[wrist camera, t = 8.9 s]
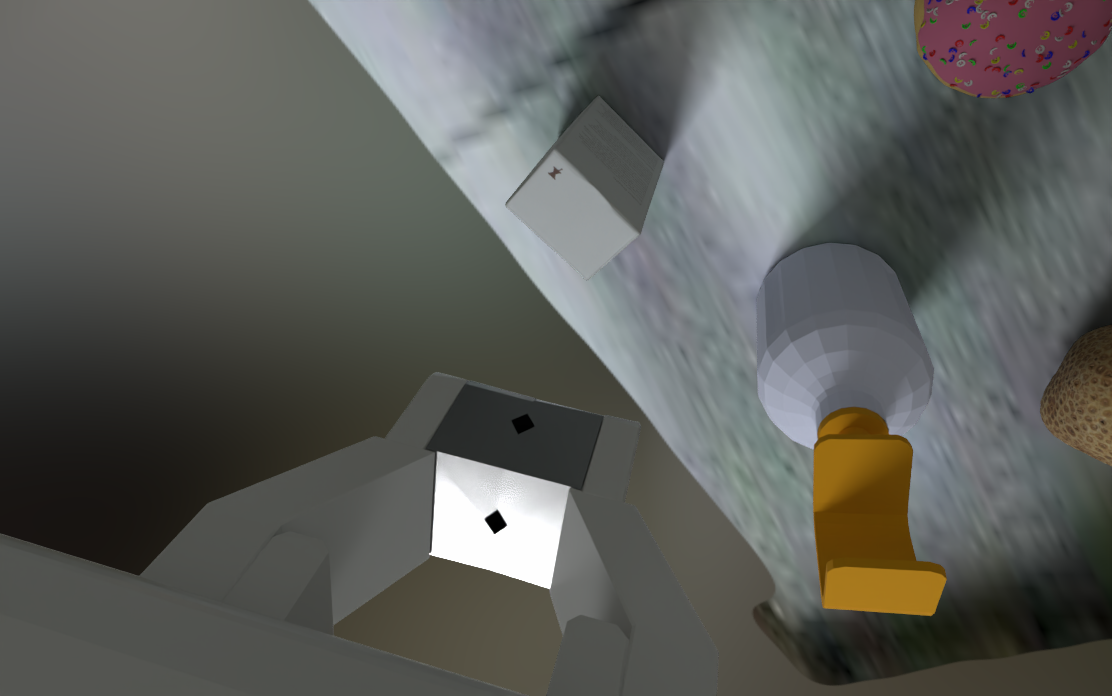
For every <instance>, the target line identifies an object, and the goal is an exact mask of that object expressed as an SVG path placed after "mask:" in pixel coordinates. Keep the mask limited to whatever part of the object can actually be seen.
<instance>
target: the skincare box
mask: <svg viewBox="0 0 1112 696" xmlns="http://www.w3.org/2000/svg"><path fill="white" fill-rule="evenodd" d="M663 164H664V161H663V160H662V159H661V158H660V157H659V156H658V155H657V154H656V153H655V152H654V151H653V150H652V149H651V148H650V147H649V146H648V145H647V144H646V143H645V142H644V141H643V140H642V139H641V138H640V137H639V136H638V135H637V134H636V133H635V132H634V131H633V130H632V129H631V128H630V127H629V126H628V125H627V124H626V123H625V121H624V120H623V119H622V118H621V117H620V116H619V115H618V114H617V113H616V112H615V111H614V110H613V109H612V108H611V107H610V106H609V105H608V104H607V103H606V102H605V101H604V100H603V99H602V98H601V97H600V96H597V97H596V98H595V99H594V100H593V101H592V102H591V103H590V104H589V105H588V106H587V107H586V108H585V109H584V111H583V112H582V113H581V114H580V115H579V116H578V117H577V118H576V119H575V120H574V121H573V123H572V124H571V125H570V126H569V127H568V128H567V129H566V130H565V132H564V133H563V134H562V135H561V136H560V137H559V139H558V140H557V141H556V142H555V143H554V144H553V146H552V147H551V148H550V149H549V150H548V152H547V153H546V154H545V155H544V157H543V158H542V159H541V160H540V161H539V163H538V164H537V165H536V166H535V168H534V169H533V170H532V171H531V172H530V174H529V175H528V176H527V177H526V179H525V180H524V181H523V182H522V183H521V185H520V186H519V187H518V188H517V190H516V191H515V192H514V193H513V194H512V196H511V197H510V198H509V199H508V201H507V202H506V204H505V205H506V208H508V209H509V210H510V211H511V212H512V213H513V214H514V215H515V216H516V217H517V218H518V219H520V220H521V221H522V222H523V223H524V224H525V225H526V226H527V227H528V228H529V229H530V230H531V231H533V232H534V233H535V234H536V235H537V236H538V237H539V238H540V239H541V240H542V241H544V242H545V243H546V244H547V245H548V246H549V247H550V248H551V249H552V250H554V251H555V252H556V253H557V254H558V255H559V256H560V257H561V258H562V259H563V260H564V261H566V262H567V263H568V264H569V265H570V266H571V267H572V268H573V269H574V270H575V271H576V272H577V273H579V274H580V275H581V276H582V277H583V278H584V279H585V280H586V281H587V280H589V279H590V278H591V277H592V276H594V275H595V274H596V273H597V272H598V271H599V270H601V269H602V268H603V267H604V266H605V265H606V264H607V263H609V262H610V261H611V260H612V259H613V258H614V257H615V256H617V255H618V254H619V253H620V252H621V251H622V250H623V249H625V248H626V247H627V246H628V245H629V244H630V243H631V242H632V241H634V240H635V239H636V238H637V237H638V236H639V235H640V234H641V231H642V228H643V224H644V221H645V218H646V215H647V212H648V209H649V206H650V203H651V200H652V197H653V194H654V191H655V188H656V185H657V182H658V179H659V176H660V173H661V171H662V168H663Z"/></svg>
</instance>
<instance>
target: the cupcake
mask: <svg viewBox="0 0 1112 696" xmlns="http://www.w3.org/2000/svg"><path fill="white" fill-rule="evenodd" d="M914 24H915V32H916V39H917V51H918V53H919V55H920V57H921V58H922V60H923V61H924V62H925V64H926V65H927V66H928V68H929V69H930V70H931V72H932V73H933V74H934V75H935V76H936V77H937V78H938V79H939V80H940V81H941V82H942V83H943V84H944V85H946V86H948V87H950V88H952V89H955V90H957V91H960V92H963V93H965V94H968V95H971V96H974V97H980V98H1007V97H1013V96H1018V95H1021V94H1025V93H1032V92H1034V90H1035V89H1037V88H1040V87H1042V86H1045V85H1048V84H1050V83H1052V82H1054V81H1056V80H1058V79H1060V78H1061V77H1063V76H1065V75H1066V74H1068V73H1069V72H1070V71H1072V70H1073V69H1074V68H1076V67H1077V66H1078V65H1079V64H1081V63H1082V62H1083V61H1084V60H1085V59H1087V58H1088V57H1089V56H1090V55H1092V54H1093V53H1094V52H1095V51H1096V50H1097V49H1099V48H1100V47H1101V45H1102V44H1103V43H1104V42H1105V40H1106V38H1107V37H1108V35H1109V33H1110V31H1111V29H1112V0H915V5H914Z"/></svg>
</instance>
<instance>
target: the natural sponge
mask: <svg viewBox="0 0 1112 696" xmlns="http://www.w3.org/2000/svg"><path fill="white" fill-rule="evenodd" d="M1040 413H1041V417H1042V420H1043V422H1044V424H1045V425H1046V427H1047V428H1048V429H1049V431H1050V432H1051V433H1052V434H1053V435H1054V436H1056V437H1057V438H1059V439H1060V440H1062V441H1063V442H1064V443H1066V444H1068V445H1070V446H1071V447H1073V448H1075V449H1077V450H1080V451H1082V452H1084V453H1086V454H1088V455H1089V456H1091V457H1093V458H1095V459H1097V460H1099V461H1102V462H1104V463H1106V464H1108V465H1111V466H1112V325H1108V326H1104V327H1100V328H1098V329H1095V330H1093V331H1090V332H1088V333H1086V334H1085V335H1083V336H1082V337H1080V338H1079V339H1078V340H1077V341H1076V342H1075V343H1074V344H1073V346H1072V347H1071V349H1070V350H1069V352H1068V353H1067V354H1066V356H1065V358H1064V360H1063V362H1062V363H1061V365H1060V367H1059V369H1058V371H1057V372H1056V374H1055V375H1054V376H1053V377H1052V379H1051V381H1050V383H1049V384H1048V386H1047V388H1046V389H1045V391H1044V394H1043V397H1042V400H1041V408H1040Z"/></svg>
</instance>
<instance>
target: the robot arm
mask: <svg viewBox="0 0 1112 696" xmlns="http://www.w3.org/2000/svg"><path fill="white" fill-rule="evenodd" d="M640 430H641V426H640V423H639V422H635V421H630V420H626V419H621V418H617V417H612V416H608V415H605V417H604V416H602V415H598V414H594V413H590V412H586V411H582V410H578V409H574V408H569V407H566V406H561V405H557V404H554V403H550V402H545V401H541V400H537V399H536V398H532V397H528V396H525V395H521V394H517V393H514V392H510V391H507V390H503V389H499V388H496V387H492V386H488V385H485V384H481V383H477V382H474V381H468V380H466V379H462V378H458V377H454V376H450V375H446V374H442V373H438V372H436V373H434V374H432V375H430V376H429V377H428V378H427V380H426V381H425V383H424V384H423V386H422V387H421V388H420V390H419V391H418V393H417V394H416V395H415V397H414V398H413V400H412V401H411V402H410V404H409V405H408V407H407V408H406V409H405V411H404V412H403V414H402V415H401V416H400V418H399V419H398V421H397V422H396V424H395V425H394V426H393V428H392V429H391V430H390V432H389V433H388V435H387V436H386V438H385V439H383V438H379V437H375V436H374V437H372V438H369V439H367V440H364V441H362V442H359V443H357V444H354V445H352V446H350V447H347V448H344V449H342V450H339V451H337V452H334V453H332V454H329V455H327V456H325V457H322V458H319V459H317V460H314V461H312V462H310V463H307V464H305V465H302V466H300V467H297V468H295V469H292V470H290V471H287V472H285V473H282V474H280V475H277V476H275V477H273V478H270V479H267V480H265V481H262V482H260V483H258V484H255V485H252V486H250V487H247V488H245V489H242V490H240V491H238V492H235V493H232V494H230V495H228V496H225V497H223V498H220V499H218V500H215V501H213V502H210V503H208V504H207V505H206V506H205V507H204V508H203V509H202V510H201V511H200V512H199V513H198V514H197V515H196V516H195V517H194V519H193V520H192V521H191V522H190V523H189V524H188V525H187V526H186V527H185V528H184V529H183V530H182V531H181V532H180V533H179V534H178V535H177V537H176V538H175V539H174V540H173V541H172V542H171V543H170V544H169V545H168V546H167V547H166V548H165V549H164V550H163V552H162V553H161V554H160V555H159V556H158V557H157V558H156V559H155V560H154V561H153V562H152V563H151V564H150V565H149V566H148V568H146V570H145V571H144V572H143V573H142V574H141V575H140V576H136V575H133V574H130V573H127V572H123V571H120V570H117V569H114V568H110V567H107V566H104V565H101V564H97V563H94V562H90V561H87V560H84V559H81V558H78V557H74V556H71V555H68V554H65V553H61V552H58V551H54V550H51V549H48V548H45V547H41V546H38V545H35V544H32V543H29V542H25V541H22V540H19V539H16V538H12V537H9V536H6V535H3V534H0V696H528V695H525V694H522V693H518V692H515V691H512V690H508V689H505V688H502V687H499V686H495V685H492V684H489V683H486V682H483V681H479V680H476V679H472V678H469V677H466V676H463V675H460V674H456V673H453V672H450V671H447V670H443V669H440V668H437V667H433V666H430V665H427V664H424V663H420V662H417V661H414V660H410V659H407V658H404V657H401V656H397V655H394V654H391V653H388V652H385V651H381V650H378V649H375V648H372V647H368V646H365V645H362V644H359V643H355V642H352V641H349V640H345V639H342V638H339V637H336V636H334V633H333V625H334V624H336V623H337V622H339V621H340V620H342V619H343V618H344V617H346V616H347V615H349V614H350V613H352V612H353V611H354V610H356V609H357V608H359V607H360V606H362V605H363V604H364V603H366V602H367V601H369V600H370V599H371V598H373V597H374V596H376V595H377V594H379V593H380V592H382V591H383V590H384V589H386V588H387V587H389V586H390V585H392V584H393V583H394V582H396V581H397V580H399V579H400V578H401V577H403V576H404V575H406V574H407V573H408V572H410V571H411V570H413V569H414V568H416V567H417V566H419V565H420V564H421V563H423V562H424V561H425V560H427V559H429V554H430V555H434V556H438V557H442V558H446V559H450V560H454V561H458V562H462V563H465V564H469V565H473V566H477V567H481V568H485V569H489V570H492V571H495V572H498V573H502V574H505V575H508V576H511V577H514V578H517V579H521V580H524V581H527V582H530V583H533V584H537V585H540V586H543V587H546V588H549V589H550V595H551V598H552V602H553V605H554V608H555V612H556V615H557V618H558V621H559V625H560V628H561V632H562V635H563V639H562V642H561V645H560V650H559V653H558V656H557V660H556V664H555V667H554V671H553V674H552V678H551V681H550V684H549V688H548V692H547V695H546V696H717V677H718V656H719V652H718V650H717V648H716V647H715V645H714V643H713V641H712V640H711V638H710V636H709V634H708V632H707V631H706V629H705V627H704V625H703V624H702V622H701V620H700V618H699V617H698V615H697V613H696V611H695V610H694V608H693V606H692V604H691V603H690V601H689V599H688V597H687V596H686V594H685V592H684V590H683V589H682V587H681V585H680V583H679V581H678V580H677V578H676V576H675V574H674V573H673V571H672V569H671V567H670V566H669V564H668V562H667V560H666V559H665V557H664V555H663V553H662V552H661V550H660V548H659V546H658V545H657V543H656V541H655V539H654V538H653V536H652V534H651V533H650V531H649V529H648V527H647V525H646V524H645V522H644V520H643V518H642V516H641V515H640V513H639V511H638V510H637V508H636V506H634V505H631V504H628V503H625V499H626V494H627V490H628V485H629V480H630V476H631V471H632V467H633V462H634V457H635V453H636V447H637V443H638V439H639V434H640Z"/></svg>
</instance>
